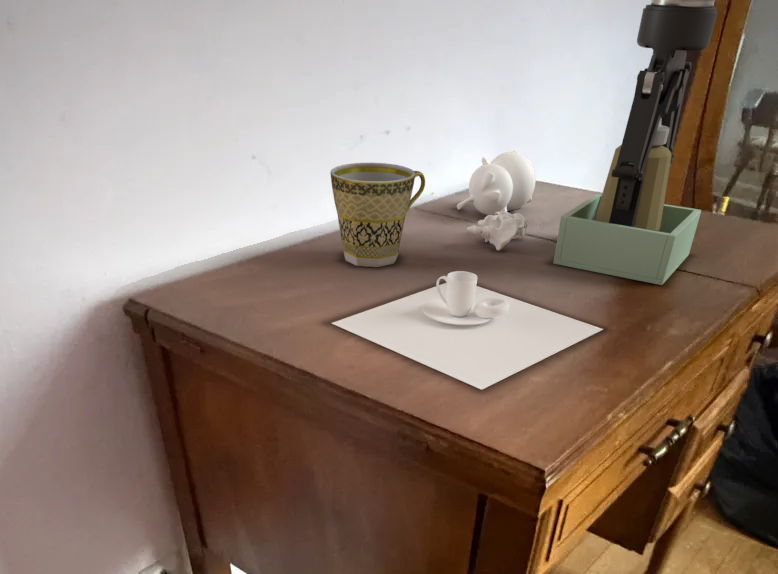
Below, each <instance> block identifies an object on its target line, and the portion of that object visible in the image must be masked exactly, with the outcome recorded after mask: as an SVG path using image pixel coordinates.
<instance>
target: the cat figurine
mask: <svg viewBox="0 0 778 574" xmlns="http://www.w3.org/2000/svg"><path fill="white" fill-rule="evenodd" d="M481 163H482V165H480V166H479V167H477V168H476V169H475V170H474V171H473V173H472V174H471V176H470V179H469V182H468V194H469V197H467V198H466V199H464V200H462V201H460V202H459V203H457V204H456V208H457V210H458V211H459V210H461V209H463V208H464V207H466V206H467V205H468V204H470V203H472V205H473V207H474V208H475V209H476V210H477V211H478V212H479V213H480V214H483V215H485V216H488V215H493V216H494V215H495V213H496V212H500V211H501V210H503V211H506V212H508V211H509V212H510V211H516V210H518V209H520V208H522V207H523V206H524V205H526V204H528V203H531V202H532V201H533V198H532V197H533V194H534V191H535V187H536V182H537V181H536V180H537V179H536V177H537V176H536V171H535V168H534V165H533V164H532V162H531V161H530V160H529V158H527V157H526V156H525V155H523V154H522V153H519V152H516V151H515V150H513V151H507V152H502V153H501V154H498V155H497V156H495V158H493V159H492V161H490V160H489V159H488V158H487V157H485V156H483V157H482V158H481Z"/></svg>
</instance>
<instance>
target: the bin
mask: <svg viewBox="0 0 778 574" xmlns="http://www.w3.org/2000/svg"><path fill="white" fill-rule="evenodd" d="M601 196H602V194H601V193H596V194H594V195H593V196H591V197H589V198H588V199H587V200H585V201H583V202H581V203H580V204H579V205H577V206H575V207H574V208H572V209H571V210H570V211H568V212H566V213H565V214H563V215H561V217H560V221H559V227H558V233H557V239H556V245H555V250H554V257H553V262H552V263H553V264H554V265H558V266H563V267H568V268H574V269H579V270H583V271H588V272H593V273H599V274H603V275H609V276H612V277H613V276H614V277H618V278H623V279H624V278H625V279H628V280H634V281H638V282H643V283H648V284H652V285H659V286H663V285H664V284H665V283H666V281H667V280H668V279H669V278H670V277H671V276H672V275H673V273H674V272H676V270H677V269H678V268H679V267H680V266H681V265H682V264H683V262H684V261H685V260H686V259H687V258H688V257H689V255H690V253H691V252H690V251H691V248H692V246H693V241H694V238H695V236H696V235H695V234H696V231H697V228H698V224H699V220H700V217H701V213H702V209H697V208H692V207H686V206H678V205H673V204H666V203H664V207H663V213H662V219H661V226H660V230H659V231H653V230H647V229H641V228H635V227H629V226H623V225H618V224H612V223H606V222H600V221H594V220H595V217H596V213H597V210H598V207H599V203H600V200H601Z"/></svg>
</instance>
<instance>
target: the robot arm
mask: <svg viewBox="0 0 778 574" xmlns="http://www.w3.org/2000/svg"><path fill="white" fill-rule="evenodd" d="M715 2H716V0H651V2H650V4H646V5H645V7H644V8H642V12H641V13H642V14H641V18H640V24H639V28H638V33H637V36H636V37H637V38H636V44H637V46H639V47H641V48H645V49H652V55H651V58H650V60H649V64H648V67H646V68H644V70H640V71H639V72H638V74H637V75H636V76H637V77H636V85H635V89H634V95H633V100H632V102H631V107H630V110H629V114H628V119H627V122H626V126H625V129H624V134H623V137H622V142H621V144H620V145H621V149H620V153H619V157H618V160H617V164H616V167H615V170H614V169H613V170H612V177H617V178H618V183H617V188H616V192H615V197H614V201H613V206H612V211H611V215H610V220H609V223H612V224H618V225H623V226H629V227H633V223H634V219H635V215H636V211H637V206H638V202H639V198H640V194H641V189H642V185H643V181H644V179H641V177H642V176H643V171H644V168H645V165H646V162H647V159H648V156H649V153H650V150H651V147H652V144H653V141H654V138H655V135H656V132H657V128H658V125H659V122H660V119H661V118H662V119H661V125H664V126H667V127H669V129H670V130H669V134H668V138H667V142H666V144H664V145H662V146H664V147H666V148H668V149H669V151H670V152H671V155H672V156H671V162H670V165H671V164H672V163H673V161H674V158H675V155H674V154H672V153H673V150H674V143H675V139H676V134H677V129H678V124H679V120H680V116H681V110H682V105H683V101H684V95H685V91H686V87H687V83H688V80H689V76H690V72H691V70H692V62H690V61H686V59H687V53H688V52H692V51H693V52H694V51H695V52H696V51H703V50H705V49H706V48H708V47H709V45H710V42H711V39H712V35H713V31H714V27H715V23H716V20H717V17H718V16H717V15H718V13H719V12H718V10H717V7H716V6H715ZM629 163H634V165H633V164H629Z"/></svg>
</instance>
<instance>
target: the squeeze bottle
mask: <svg viewBox="0 0 778 574" xmlns="http://www.w3.org/2000/svg"><path fill="white" fill-rule="evenodd" d="M661 119H662V118H661ZM661 119H660V122H659V125H658V128H657V132H656V135H655V138H654V141H653V144H652V147H651V150H650V153H649V156H648V159H647V162H646V165H645V168H644V171H643V176H642V177H641V179H644V181H643V185H642V189H641V194H640V198H639V202H638V206H637V211H636V215H635V219H634V223H633V227H635V228H641V229H647V230H653V231H659V230H660V226H661V219H662V213H663V207H664V204H665V199H666V195H667V194H666V193H667V187H668V181H669V175H670V168H671V164H670V162H671V156H672V155H673V154H672V153H671V152H670V151H669V149H668V148H666V147H664V146H662V145H664V144H666V142H667V138H668V134H669V130H670V129H669V127H667V126H664V125H661ZM621 145H622V144H620V145H618V147H616V148H615V150H614V153H613V157H612V160H611V163H610V166H609V170H608V173H607V177H606V181H605V183H604V186H603V190H602V196H601V200H600V203H599V207H598V210H597V213H596V217H595V220H594V221H600V222H606V223H609V220H610V215H611V211H612V206H613V201H614V197H615V192H616V188H617V183H618V178H617V177H612V170H613V169H614V170H615V167H616V164H617V160H618V157H619V153H620V149H621ZM629 164H633V165H634V163H629Z"/></svg>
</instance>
